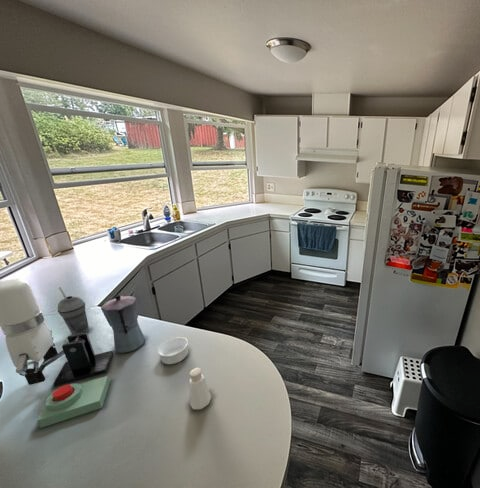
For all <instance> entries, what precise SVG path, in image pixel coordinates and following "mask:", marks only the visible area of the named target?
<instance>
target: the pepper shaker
mask: <svg viewBox="0 0 480 488" xmlns="http://www.w3.org/2000/svg"><path fill="white" fill-rule="evenodd" d="M189 378H190V379H189V381H188V386H189V388H188V389H189V390H188V391H189V404H190V407H191V408H192V410H202V409H203V408H205V407H207V406H208V405H209V404H210V402H211V399H212V395H211V392H210V389H209V386H208V384H207V381H206V377H205V376H204V374H203V373H202V369H201V368H199V367H195V368H193V369H192V370H191V371H190V372H189Z"/></svg>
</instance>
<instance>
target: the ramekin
mask: <svg viewBox="0 0 480 488" xmlns="http://www.w3.org/2000/svg"><path fill="white" fill-rule="evenodd" d="M157 354H158V356H159V357H160V359H161V362H162V363H163V364H165V365H174V364H175V365H176V364H177V363H179V362H182V361H183V360H184V359H185V358H186V357H187V356H188V354H189V340H188V339H187V338H186V337H184V336H176V337H172V338H170V339H167V340H166V341H164V342H162V344H160V345H159V346H158V349H157Z"/></svg>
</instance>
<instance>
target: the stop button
mask: <svg viewBox="0 0 480 488" xmlns="http://www.w3.org/2000/svg"><path fill="white" fill-rule="evenodd" d="M52 393H53V394H52ZM52 393H51V394H52V395H53V398H54V400H55V401H61V400H64V399H66V398H68V397H69V396H70V395H72V393H73V388H72V386H71V385H69V384H63V385H60V386H58V388H56V389H55V390H54V392H53V391H52Z"/></svg>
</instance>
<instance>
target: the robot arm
mask: <svg viewBox="0 0 480 488" xmlns="http://www.w3.org/2000/svg"><path fill="white" fill-rule="evenodd" d="M0 329H1V332H2V333H3V335H4V336H5V337H4V338H5V344H6V348H7V351H8V353H9V357H10V360H11V362H12V364H13V366H14V367H15V373H16V374H18V375H20V376H22V377H24V378H25V380H26V382H27V384H28V385H29V386H33V385H36V384H40V383H43V382H45V381H46V377H45V375H44V373H43V371H42V370H41V369H39V367H40V365H39V363H40V362H41V360H42V359H43V361H44V360H45V359H51V358H52V357H54V356H55V355H57V354H58V353H59V352H58V350H57V348H56V343H55V342H54V336H53V331H52V330H51V329H49V326H48V325H47V324H46V320H45V318H44V315H43V313H42V311H41V308H40V305H39V304H38V301H37V299H36V296H35V294H34V292H33V289H32V287H31V285H30V283H29V282H28V281H27V280H26V279H23V278H11V279H6V280H0ZM28 361H29V362H28ZM30 365H32V367H33V368H28V366H30Z"/></svg>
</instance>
